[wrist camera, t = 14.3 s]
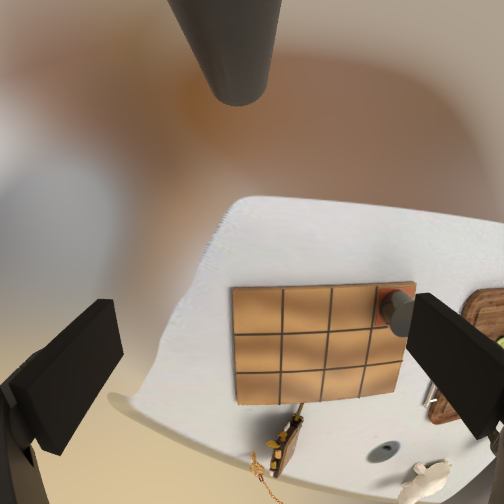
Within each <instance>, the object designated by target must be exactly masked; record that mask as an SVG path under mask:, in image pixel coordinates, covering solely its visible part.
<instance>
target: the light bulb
mask: <svg viewBox="0 0 504 504" xmlns="http://www.w3.org/2000/svg"><path fill="white" fill-rule="evenodd" d="M499 434H500V433H499V432H498V431H497V430H496V428H495V430H494V432H493V433H492V434H490V435H488V438H489V440H490V442H491V443H490V449H491V448H492V446H493V444H494V442H495V441H496V439H497V437H498V436H499ZM498 448H499V444H497V445H496V447H495V448H494V450H491V451H492V452H493V454H494V455H495V456H497V455H498V451H497V450H498Z"/></svg>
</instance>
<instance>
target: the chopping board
mask: <svg viewBox="0 0 504 504" xmlns="http://www.w3.org/2000/svg"><path fill="white" fill-rule="evenodd" d="M462 317H463V318H464V319H465V320H467V321H468V322H469V323H470V324H472V325H473V326H474V327H476V328H477V329H478V330H479V331H481V332H482V333H483V334H484V335H486V336H487V337H488V338H489V339H492V340H494V341H496V342H497V343H498V344H499V345H501V346H502V347H503V349H504V288H493V289H481V290H478V291H476V292H475V293H474V294H472V295H471V296H470V298H469V299H468V301H467V302H466V304H465V307H464V309H463V313H462ZM435 388H436V385H435V384H434V383H433V384H432V387H431V389H430V392H429V395H428V397H427V400H426V402H425V405H424V407H425V408H428V406H429V403H430V402H433V403H432V406H431V408H430V411H429V415H428V416H429V419H430V420H431V422H432V423H433V424H435V425H438V424H443V423H447V422H451V421H454V420H457V419H461V418H460V417H459V415H458V414H457V413H456V411H455V410H454V409H453V407H452V406H451V405H450V403H449V402H448V401H447V399H446V398H445V397H444V396H443V394H442V393H441V392H440V390H439V389H438V391H437V394H436V396H435V398H434V399H431V398H432V396H433V393H434V391H435Z"/></svg>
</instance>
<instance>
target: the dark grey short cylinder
mask: <svg viewBox="0 0 504 504" xmlns="http://www.w3.org/2000/svg"><path fill="white" fill-rule="evenodd" d="M414 302H415V298H414V297H413V296H412V295H410V294H409V293H408V292H407V291H405V290H401V289H398V290H394V291H391V292H390V293H388V294H387V295H386V296H385V297H384V298H383V300H382V301H381V303H380V307H379V315H380V318H381V320H382V321H383V322H384V323H385V324H386V326H387V327H388V328H389V329H390V330H391V332H392V333H393V334H394V335H395V336H397V337H401V338H405V337H408V334H409V329H410V324H411V319H412V313H413V308H414Z"/></svg>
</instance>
